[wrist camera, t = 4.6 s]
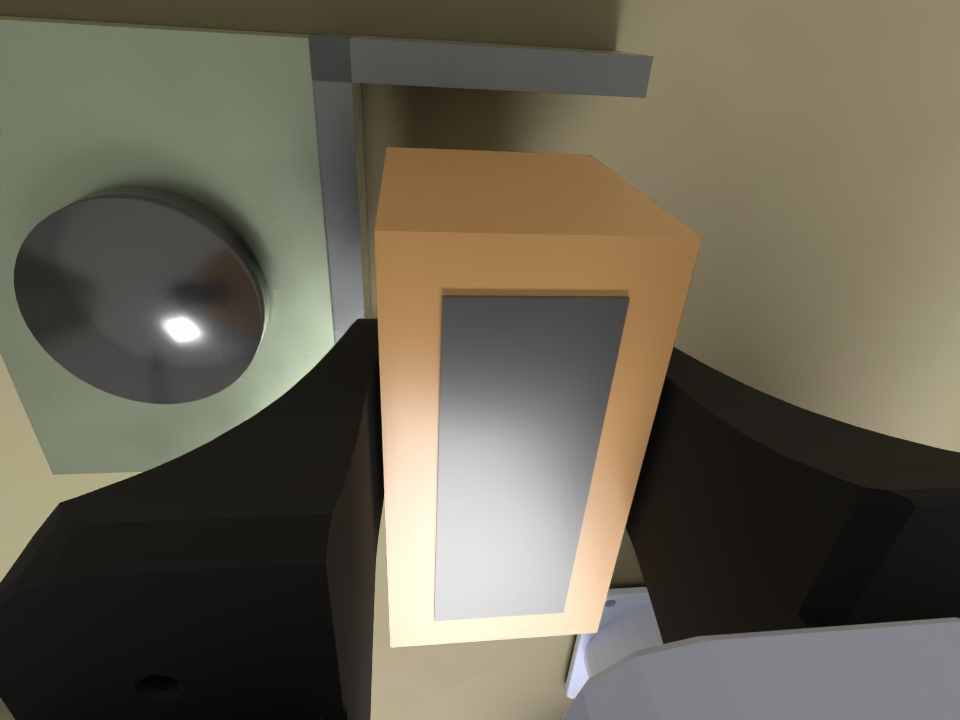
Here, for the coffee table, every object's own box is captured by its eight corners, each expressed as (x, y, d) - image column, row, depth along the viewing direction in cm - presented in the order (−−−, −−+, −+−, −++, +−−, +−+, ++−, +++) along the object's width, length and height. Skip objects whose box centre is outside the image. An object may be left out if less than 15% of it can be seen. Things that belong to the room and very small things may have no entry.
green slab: (615, 51, 14) (672, 58, 11) (559, 412, 20) (586, 482, 17) (-53, 10, 12) (-201, 6, 9) (95, 421, 18) (33, 501, 15)
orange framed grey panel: (590, 154, 11) (704, 239, 7) (543, 462, 15) (598, 635, 11) (386, 146, 11) (373, 232, 6) (395, 467, 15) (390, 651, 11)
